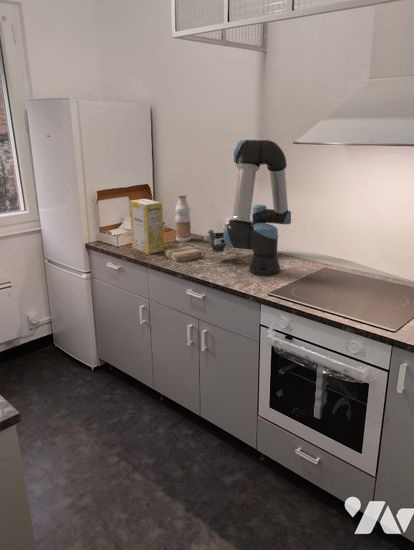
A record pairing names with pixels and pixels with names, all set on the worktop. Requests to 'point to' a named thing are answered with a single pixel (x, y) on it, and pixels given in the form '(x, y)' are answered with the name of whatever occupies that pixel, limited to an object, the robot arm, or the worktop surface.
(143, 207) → the pasta box
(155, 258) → the worktop surface
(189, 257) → the block
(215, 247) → the mortar and pestle
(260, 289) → the worktop surface
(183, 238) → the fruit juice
